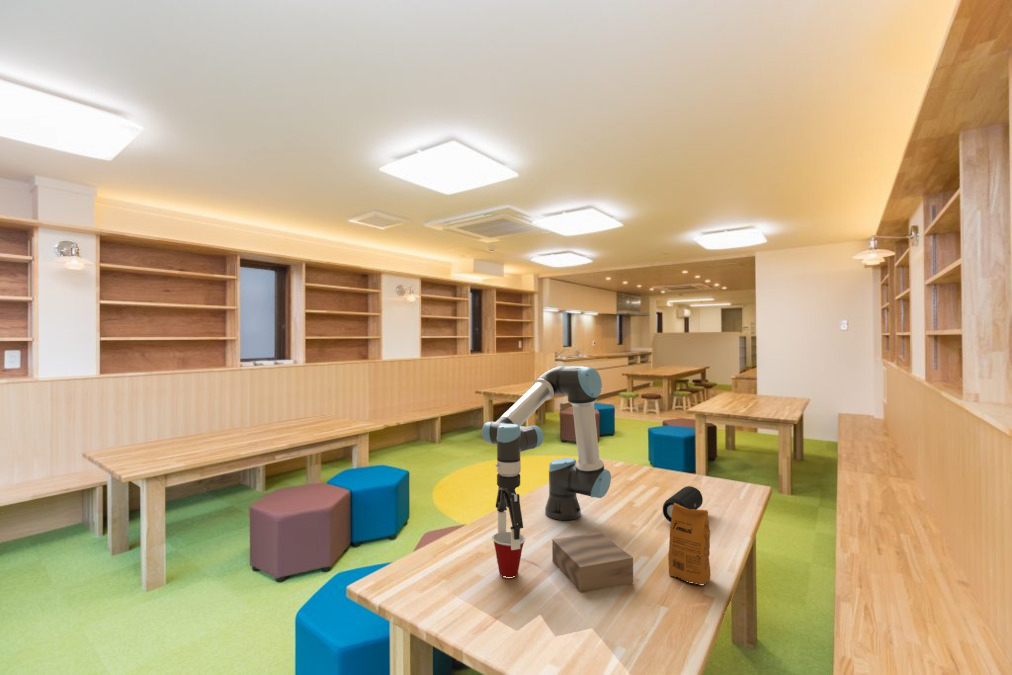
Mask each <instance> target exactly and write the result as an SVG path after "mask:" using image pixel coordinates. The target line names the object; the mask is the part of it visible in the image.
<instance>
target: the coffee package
mask: <svg viewBox="0 0 1012 675" xmlns="http://www.w3.org/2000/svg"><path fill="white" fill-rule="evenodd" d="M709 521H710V520H709V512H708V510H707V509H697V510H694V509H687V508H685V507H683V506H680V505H678V504H676V503H674V505H673V510H672V520H671V522H670V529H669V542H668V543H669V544H668V557H667V560H668V563H667V564H668V575H671V576H674V577H673V578H676V577H678V579H680V578H681V579H680V580H682V579H683V580H685V581H688V582H693V583H697V584H705V583H706V582H707V583H708V581H710V578H711V566H710V554H711V553H710V551H711V550H710V547H711V545H710V544H711V542H710V541H711V529H710V522H709ZM671 576H670V577H671ZM683 580H682V581H683ZM685 581H684V582H685ZM705 585H706V584H705Z"/></svg>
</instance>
